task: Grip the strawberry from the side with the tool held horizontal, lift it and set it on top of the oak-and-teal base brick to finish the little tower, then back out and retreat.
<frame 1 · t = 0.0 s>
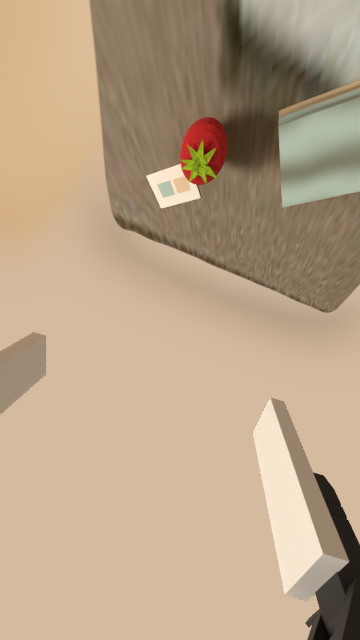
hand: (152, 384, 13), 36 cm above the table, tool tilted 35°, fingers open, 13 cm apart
base brick: (322, 141, 30), on the table
strawberry: (210, 136, 33), on the table
instruction page: (173, 186, 40), on the table
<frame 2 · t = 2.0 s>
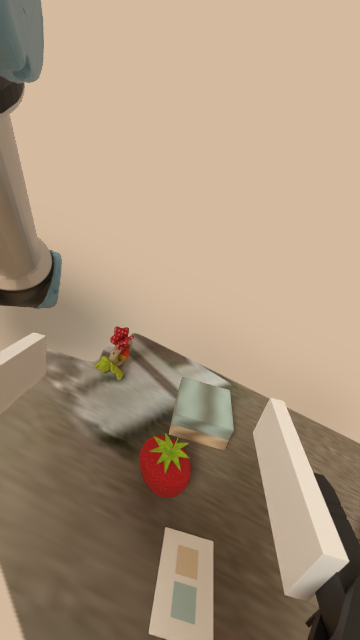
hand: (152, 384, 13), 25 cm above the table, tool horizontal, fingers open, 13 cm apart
base brick: (198, 420, 45), on the table
strawberry: (156, 489, 32), on the table
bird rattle: (115, 369, 53), on the table
instruction page: (185, 581, 24), on the table
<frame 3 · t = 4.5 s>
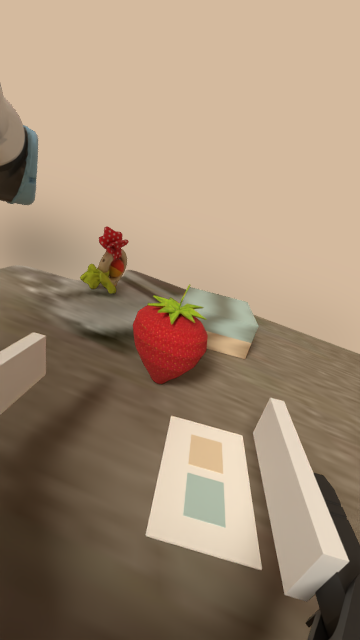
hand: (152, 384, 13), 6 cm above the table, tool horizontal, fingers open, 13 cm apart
base brick: (209, 333, 36), on the table
strawberry: (157, 382, 23), on the table
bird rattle: (106, 289, 44), on the table
instruction page: (205, 474, 15), on the table
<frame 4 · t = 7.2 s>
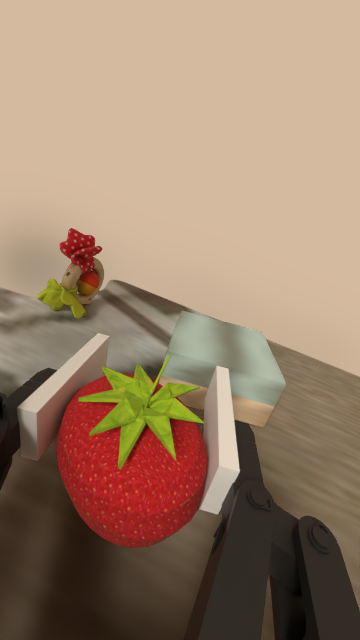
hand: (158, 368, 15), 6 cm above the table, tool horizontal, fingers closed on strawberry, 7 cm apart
base brick: (209, 378, 25), on the table
strawberry: (117, 511, 13), on the table, touching gripper
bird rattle: (76, 309, 33), on the table
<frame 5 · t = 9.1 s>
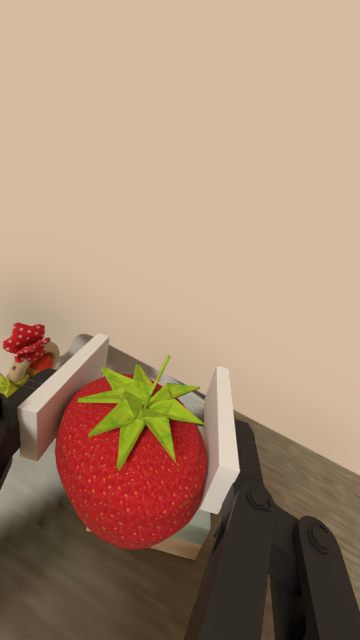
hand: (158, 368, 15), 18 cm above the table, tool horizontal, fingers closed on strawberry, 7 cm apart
base brick: (152, 486, 25), on the table
strawberry: (116, 512, 13), point 12 cm above the table, touching gripper
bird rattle: (29, 392, 33), on the table
when the fingers open (12 cm above the table, at t = 11.0 s): strawberry drops 1 cm, resting on base brick.
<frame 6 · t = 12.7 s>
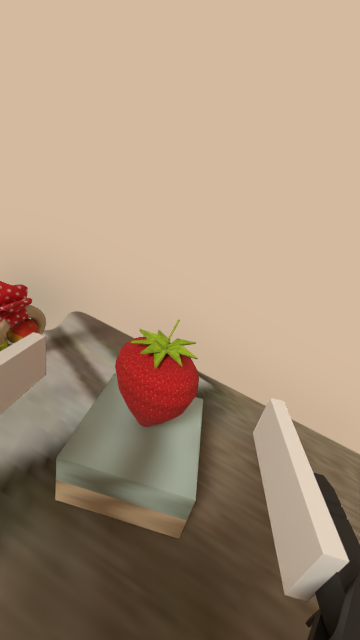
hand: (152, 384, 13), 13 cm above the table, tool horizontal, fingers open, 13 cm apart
base brick: (136, 459, 22), on the table
strawberry: (144, 423, 20), point 5 cm above the table, touching base brick
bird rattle: (11, 361, 31), on the table
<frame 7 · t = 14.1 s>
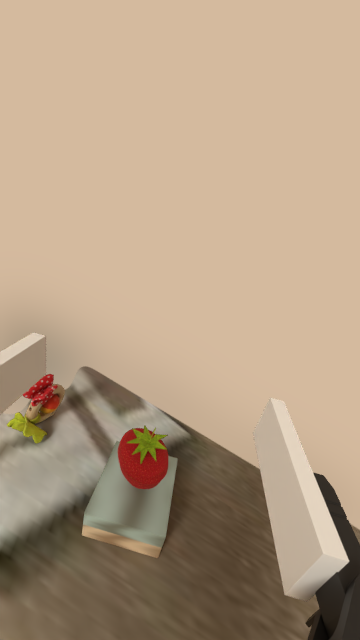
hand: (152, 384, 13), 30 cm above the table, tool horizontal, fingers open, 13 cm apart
base brick: (132, 503, 34), on the table
strawberry: (136, 482, 32), point 5 cm above the table, touching base brick
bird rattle: (40, 424, 42), on the table
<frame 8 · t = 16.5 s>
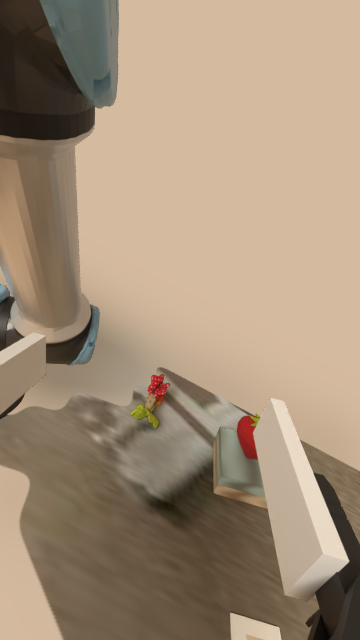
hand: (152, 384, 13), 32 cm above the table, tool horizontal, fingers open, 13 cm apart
base brick: (238, 473, 44), on the table
strawberry: (246, 456, 42), point 5 cm above the table, touching base brick
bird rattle: (148, 414, 52), on the table
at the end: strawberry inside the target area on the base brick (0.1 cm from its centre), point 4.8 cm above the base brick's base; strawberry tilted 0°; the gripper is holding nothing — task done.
